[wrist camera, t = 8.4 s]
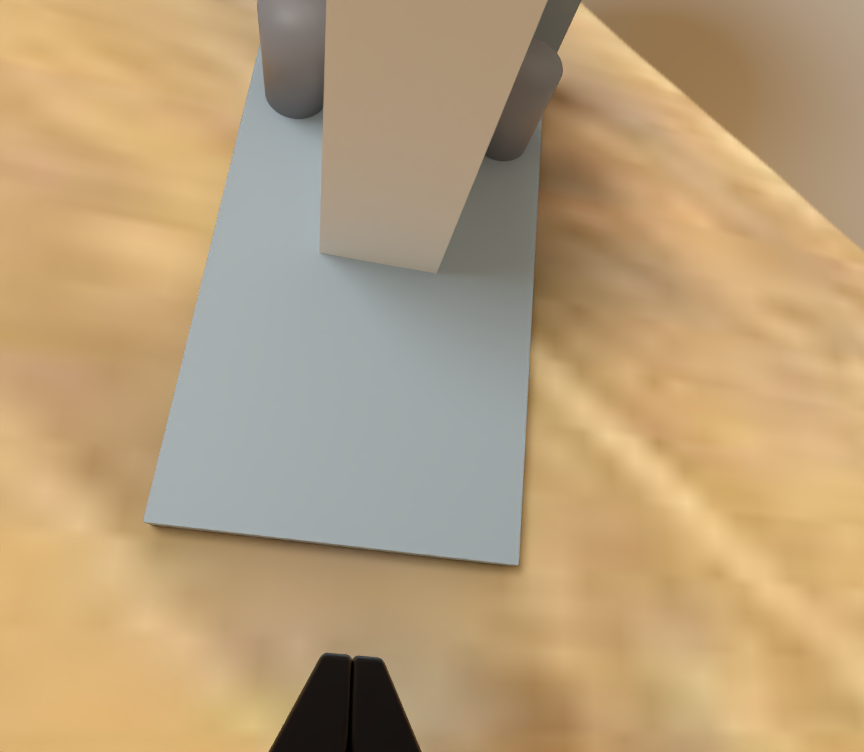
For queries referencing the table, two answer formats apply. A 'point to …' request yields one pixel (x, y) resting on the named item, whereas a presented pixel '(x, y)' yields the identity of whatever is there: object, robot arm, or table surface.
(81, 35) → the table surface
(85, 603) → the table surface
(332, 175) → the panel
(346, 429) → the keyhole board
